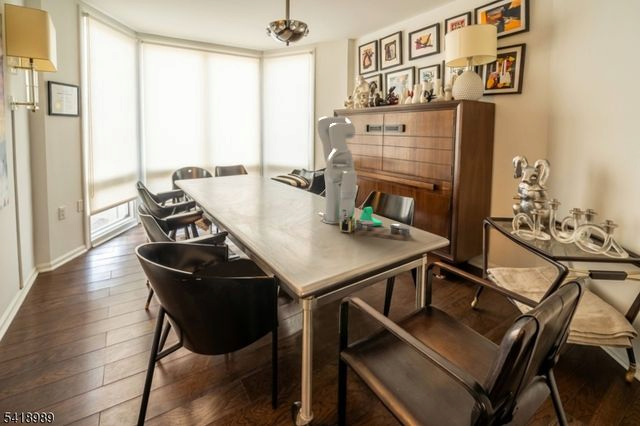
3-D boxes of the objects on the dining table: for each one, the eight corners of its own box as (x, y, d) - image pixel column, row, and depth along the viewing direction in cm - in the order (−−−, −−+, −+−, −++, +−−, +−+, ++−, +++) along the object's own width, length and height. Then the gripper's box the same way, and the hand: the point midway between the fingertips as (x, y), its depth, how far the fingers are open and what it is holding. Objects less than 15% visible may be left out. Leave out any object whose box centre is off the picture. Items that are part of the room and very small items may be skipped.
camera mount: (382, 226, 197) (383, 208, 195) (370, 228, 194) (371, 209, 192) (371, 221, 208) (372, 204, 206) (359, 222, 205) (360, 205, 203)
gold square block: (338, 230, 185) (338, 219, 184) (342, 227, 190) (343, 216, 189) (351, 232, 182) (352, 221, 181) (355, 229, 188) (355, 218, 186)
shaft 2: (389, 233, 179) (389, 224, 178) (392, 231, 182) (393, 222, 181) (406, 236, 174) (407, 226, 173) (409, 234, 177) (410, 224, 176)
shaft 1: (355, 229, 184) (355, 220, 183) (356, 227, 189) (357, 218, 187) (373, 231, 182) (373, 222, 181) (374, 228, 186) (374, 220, 185)
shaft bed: (354, 233, 183) (354, 230, 182) (360, 228, 192) (360, 225, 192) (405, 240, 172) (405, 237, 172) (409, 234, 182) (409, 231, 182)
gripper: (347, 191, 191) (346, 223, 195) (335, 197, 175) (334, 232, 180) (360, 192, 188) (359, 225, 192) (349, 199, 172) (348, 234, 177)
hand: (347, 228), depth 186 cm, fingers closed on gold square block, 6 cm apart
